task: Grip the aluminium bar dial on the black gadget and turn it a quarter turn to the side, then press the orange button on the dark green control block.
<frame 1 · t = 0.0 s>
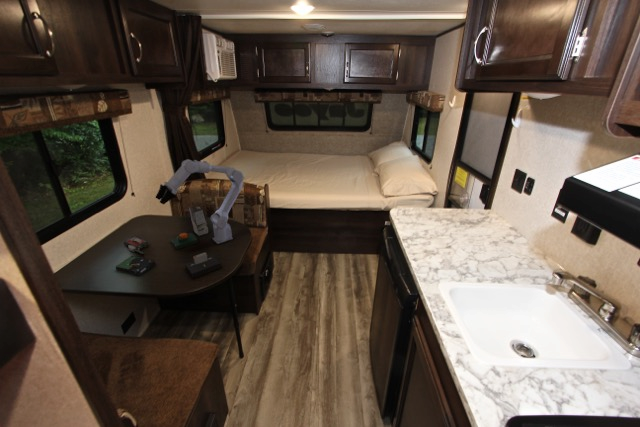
hand: (159, 201, 144), 32 cm above the table, tool tilted 50°, fingers open, 7 cm apart
button: (183, 235, 169), point 5 cm above the table, slide at 0.2 cm
gadget: (203, 268, 148), on the table
dial: (200, 258, 147), point 5 cm above the table, hinge at 0.0°
disk drive: (136, 268, 148), on the table
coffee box: (201, 232, 182), on the table
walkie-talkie: (138, 248, 164), on the table
control block: (184, 242, 170), on the table
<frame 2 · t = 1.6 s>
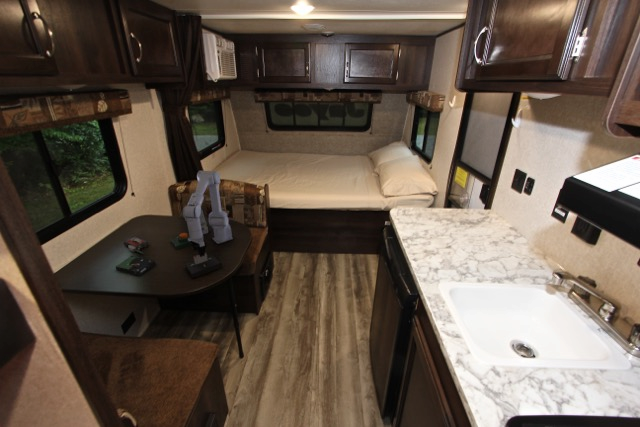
hand: (199, 252, 146), 8 cm above the table, tool pointing down, fingers open, 7 cm apart
nothing on the table moved.
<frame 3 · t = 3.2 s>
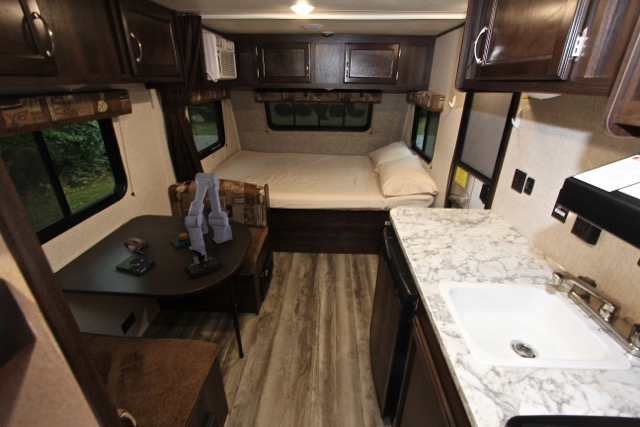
hand: (201, 260, 148), 4 cm above the table, tool pointing down, fingers closed on dial, 2 cm apart
dial: (200, 258, 147), point 5 cm above the table, hinge at -0.1°, touching gripper
everything else where it was.
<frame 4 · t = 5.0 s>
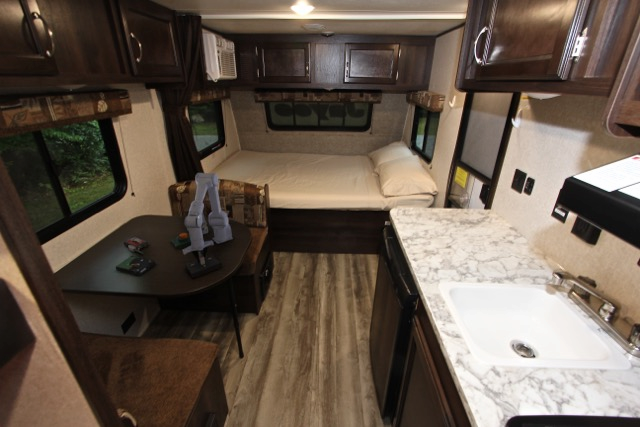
hand: (201, 261, 148), 3 cm above the table, tool pointing down, fingers closed, pressing on dial
dial: (200, 258, 147), point 5 cm above the table, hinge at 89.8°, touching gripper
everything else where it was.
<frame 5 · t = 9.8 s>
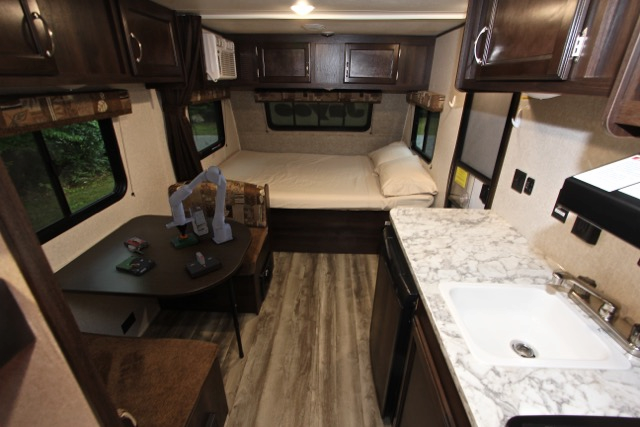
hand: (183, 235, 168), 5 cm above the table, tool pointing down, fingers closed, pressing on button
button: (183, 236, 169), point 4 cm above the table, slide at -0.5 cm, touching gripper
dial: (200, 258, 147), point 5 cm above the table, hinge at 89.8°
everything else where it was.
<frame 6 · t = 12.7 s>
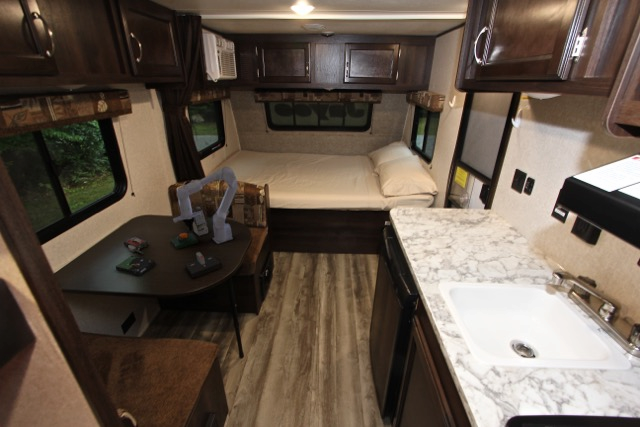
hand: (190, 230, 165), 9 cm above the table, tool pointing down, fingers closed
button: (183, 235, 169), point 5 cm above the table, slide at 0.2 cm
everything else where it was.
at the end: dial at +90° (first picture: +0°); button pushed in 1.2 cm at the most during the clip, back to 0.2 cm at the end; button slide at 0.2 cm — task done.
